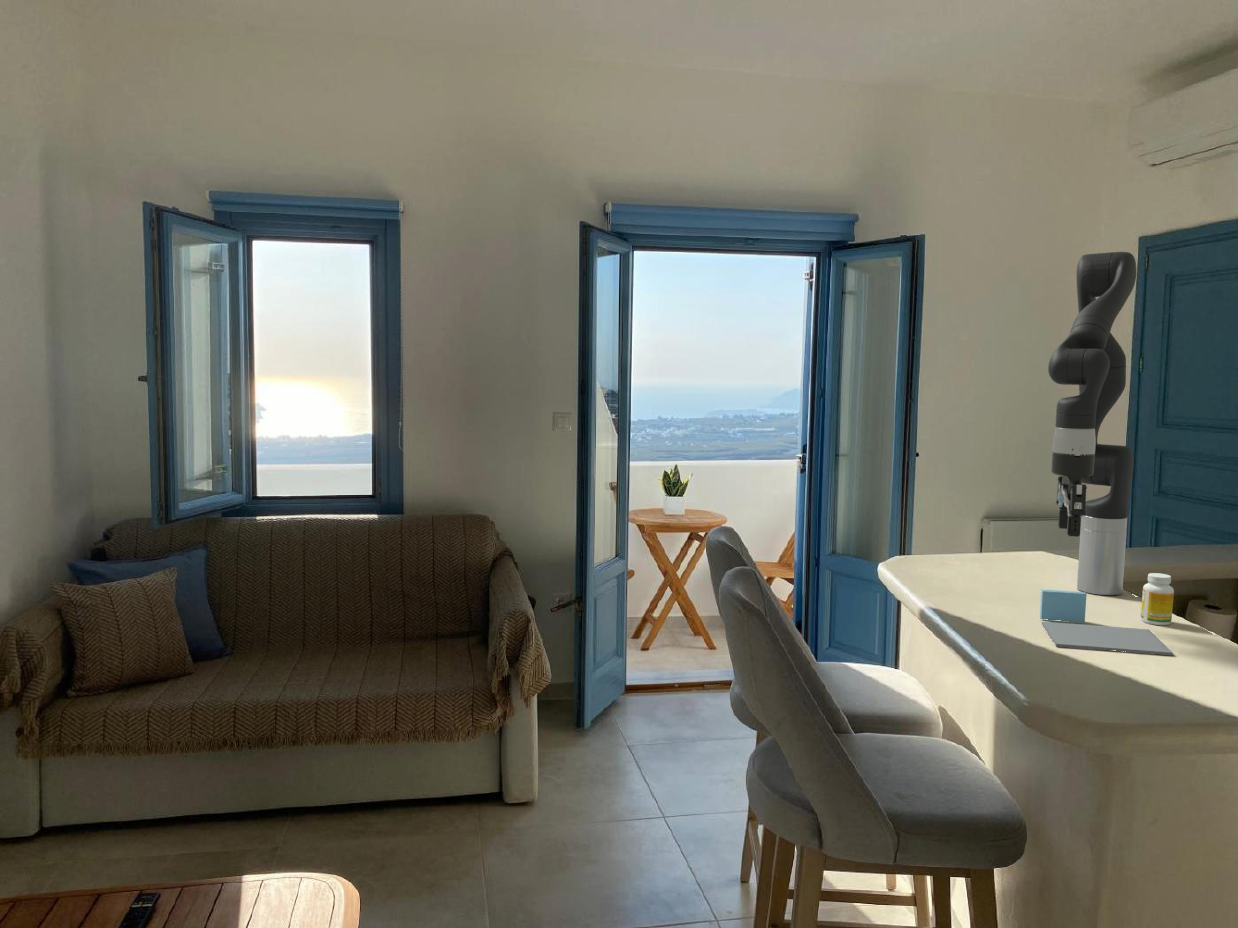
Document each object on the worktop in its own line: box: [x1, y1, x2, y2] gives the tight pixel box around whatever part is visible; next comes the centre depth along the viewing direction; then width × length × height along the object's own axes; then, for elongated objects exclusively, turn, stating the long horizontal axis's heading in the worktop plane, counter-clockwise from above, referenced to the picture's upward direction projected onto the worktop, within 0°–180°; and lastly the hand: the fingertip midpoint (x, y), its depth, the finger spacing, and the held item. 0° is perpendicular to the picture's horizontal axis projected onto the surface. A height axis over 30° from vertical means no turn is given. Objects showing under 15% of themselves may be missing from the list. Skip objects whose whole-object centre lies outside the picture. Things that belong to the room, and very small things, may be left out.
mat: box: [1041, 621, 1174, 656], centre depth 176 cm, size 15×19×1 cm
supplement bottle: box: [1140, 572, 1175, 626], centre depth 188 cm, size 5×5×10 cm
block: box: [1039, 588, 1087, 624], centre depth 188 cm, size 2×8×6 cm, turn 75°
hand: (1068, 532), depth 187 cm, fingers open, 8 cm apart
